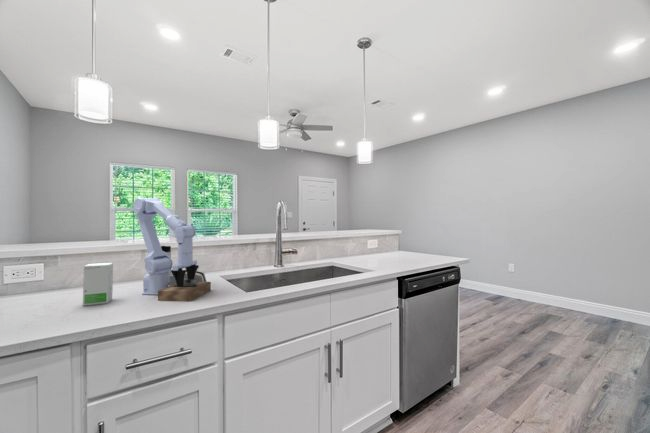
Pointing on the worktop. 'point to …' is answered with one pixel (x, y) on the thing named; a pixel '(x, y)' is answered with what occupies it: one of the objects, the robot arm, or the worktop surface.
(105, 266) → the skincare box
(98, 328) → the worktop surface
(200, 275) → the grey arched slab
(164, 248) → the travel mug
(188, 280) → the grey flat-faced block
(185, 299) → the slotted tan panel
